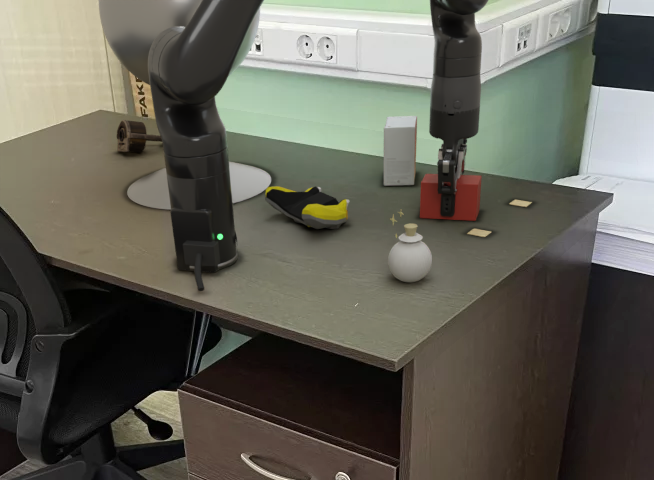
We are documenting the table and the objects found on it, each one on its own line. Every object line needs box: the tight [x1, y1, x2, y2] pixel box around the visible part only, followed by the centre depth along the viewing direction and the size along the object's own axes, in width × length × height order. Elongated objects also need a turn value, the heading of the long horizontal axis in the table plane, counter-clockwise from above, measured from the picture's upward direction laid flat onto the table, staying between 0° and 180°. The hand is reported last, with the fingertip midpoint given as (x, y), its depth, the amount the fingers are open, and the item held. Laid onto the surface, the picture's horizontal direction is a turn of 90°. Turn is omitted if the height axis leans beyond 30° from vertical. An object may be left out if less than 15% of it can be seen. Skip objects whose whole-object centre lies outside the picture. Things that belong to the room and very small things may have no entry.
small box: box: [383, 115, 418, 187], centre depth 156 cm, size 8×6×10 cm
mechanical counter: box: [116, 119, 162, 153], centre depth 186 cm, size 7×13×10 cm
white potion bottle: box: [387, 210, 433, 283], centre depth 119 cm, size 6×8×10 cm
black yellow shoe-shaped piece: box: [264, 185, 350, 230], centre depth 142 cm, size 15×6×10 cm
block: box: [419, 173, 483, 222], centre depth 140 cm, size 4×9×6 cm, turn 70°
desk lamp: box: [98, 0, 272, 211], centre depth 153 cm, size 28×28×45 cm
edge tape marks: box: [466, 199, 533, 238], centre depth 139 cm, size 17×3×1 cm, turn 141°
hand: (449, 209), depth 141 cm, fingers closed on block, 4 cm apart
